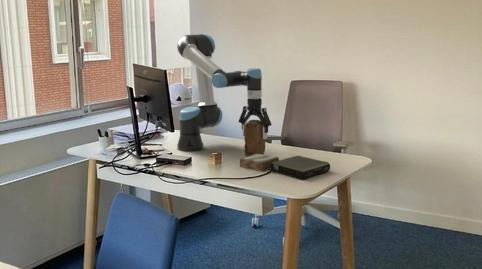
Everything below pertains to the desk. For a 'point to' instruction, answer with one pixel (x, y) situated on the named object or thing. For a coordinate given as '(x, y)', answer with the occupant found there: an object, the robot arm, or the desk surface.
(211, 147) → the desk surface
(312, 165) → the network switch
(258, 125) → the block
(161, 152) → the desk surface
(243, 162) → the plinth
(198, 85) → the robot arm
